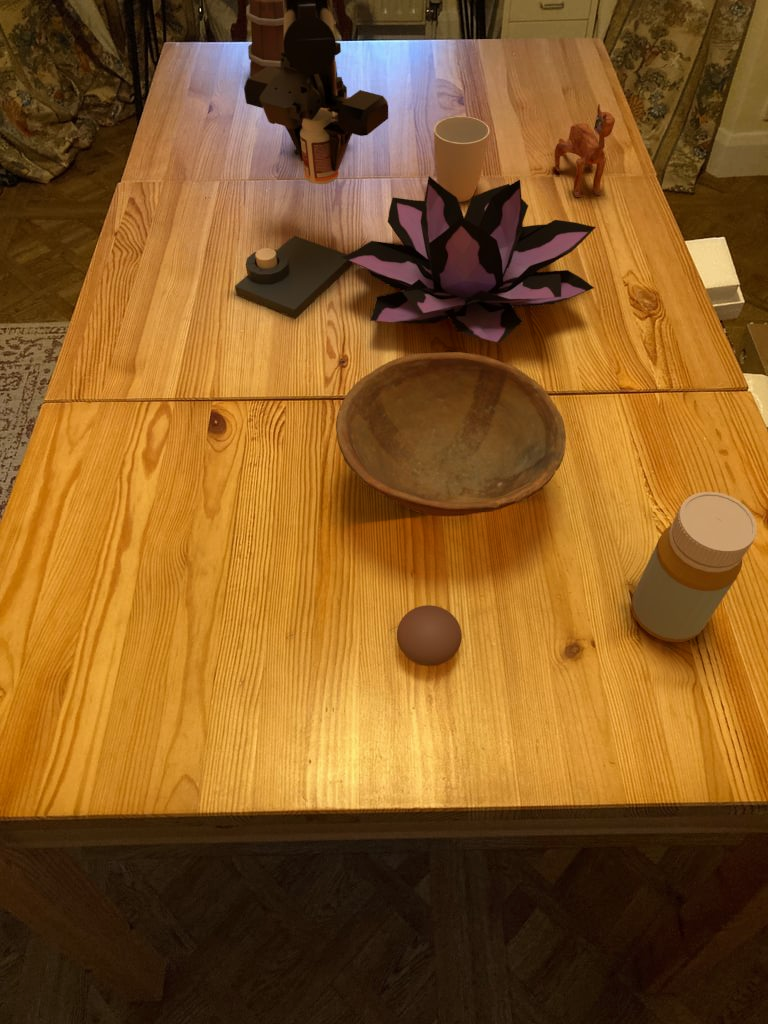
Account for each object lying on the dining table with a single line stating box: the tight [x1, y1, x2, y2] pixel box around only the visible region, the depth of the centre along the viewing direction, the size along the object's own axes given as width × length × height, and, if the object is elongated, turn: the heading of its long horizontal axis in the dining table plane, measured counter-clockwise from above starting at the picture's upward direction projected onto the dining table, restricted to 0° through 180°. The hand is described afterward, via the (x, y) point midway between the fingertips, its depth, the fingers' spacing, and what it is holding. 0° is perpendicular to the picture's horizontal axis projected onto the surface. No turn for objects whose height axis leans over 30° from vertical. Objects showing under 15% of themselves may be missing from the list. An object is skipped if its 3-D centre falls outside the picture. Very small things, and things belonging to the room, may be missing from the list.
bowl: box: [335, 351, 567, 517], centre depth 80 cm, size 22×23×10 cm
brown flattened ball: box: [396, 604, 463, 667], centre depth 71 cm, size 6×6×4 cm
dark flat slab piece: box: [234, 235, 353, 319], centre depth 106 cm, size 11×14×3 cm
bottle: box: [630, 491, 758, 643], centre depth 68 cm, size 7×7×15 cm
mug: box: [245, 0, 284, 77], centre depth 140 cm, size 16×12×15 cm
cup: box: [433, 115, 490, 203], centre depth 116 cm, size 8×8×10 cm
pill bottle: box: [300, 109, 340, 185], centre depth 102 cm, size 5×5×8 cm
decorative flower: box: [342, 175, 596, 344], centre depth 99 cm, size 32×32×15 cm
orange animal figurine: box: [554, 103, 616, 198], centre depth 118 cm, size 18×7×14 cm, turn 9°
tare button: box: [255, 247, 277, 269], centre depth 105 cm, size 3×3×2 cm
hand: (320, 165), depth 104 cm, fingers closed on pill bottle, 5 cm apart
